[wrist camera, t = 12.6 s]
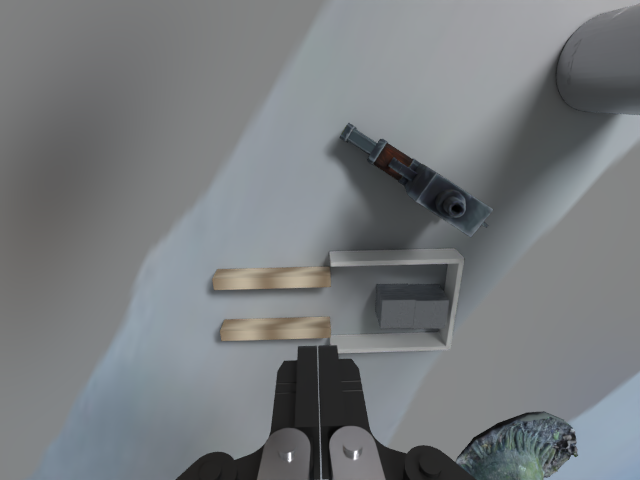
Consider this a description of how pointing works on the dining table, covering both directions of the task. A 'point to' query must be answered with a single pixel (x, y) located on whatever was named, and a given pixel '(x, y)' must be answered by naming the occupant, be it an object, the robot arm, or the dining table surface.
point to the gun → (423, 183)
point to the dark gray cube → (429, 306)
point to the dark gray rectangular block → (395, 306)
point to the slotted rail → (270, 280)
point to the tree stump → (520, 448)
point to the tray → (403, 340)
